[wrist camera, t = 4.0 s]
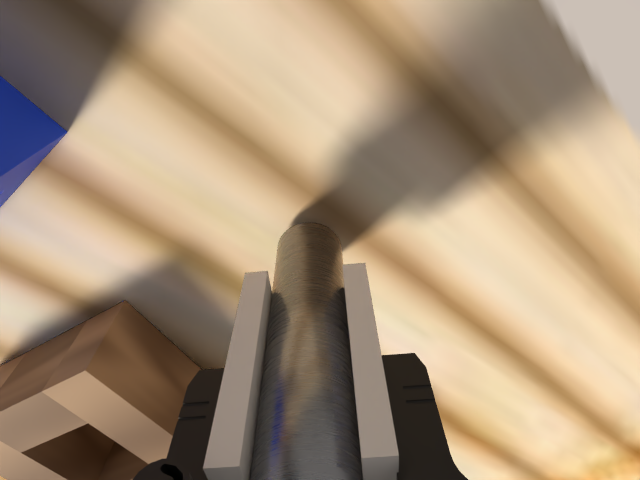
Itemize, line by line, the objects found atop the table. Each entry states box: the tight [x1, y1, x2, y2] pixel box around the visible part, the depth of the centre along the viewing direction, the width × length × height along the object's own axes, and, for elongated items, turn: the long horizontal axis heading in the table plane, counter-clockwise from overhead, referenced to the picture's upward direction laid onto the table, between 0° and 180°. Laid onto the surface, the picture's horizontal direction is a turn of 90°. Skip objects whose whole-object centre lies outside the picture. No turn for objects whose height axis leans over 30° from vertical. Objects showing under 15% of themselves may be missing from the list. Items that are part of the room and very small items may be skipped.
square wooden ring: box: [0, 301, 202, 480], centre depth 21 cm, size 9×9×4 cm
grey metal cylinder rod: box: [250, 223, 363, 480], centre depth 11 cm, size 3×3×15 cm
